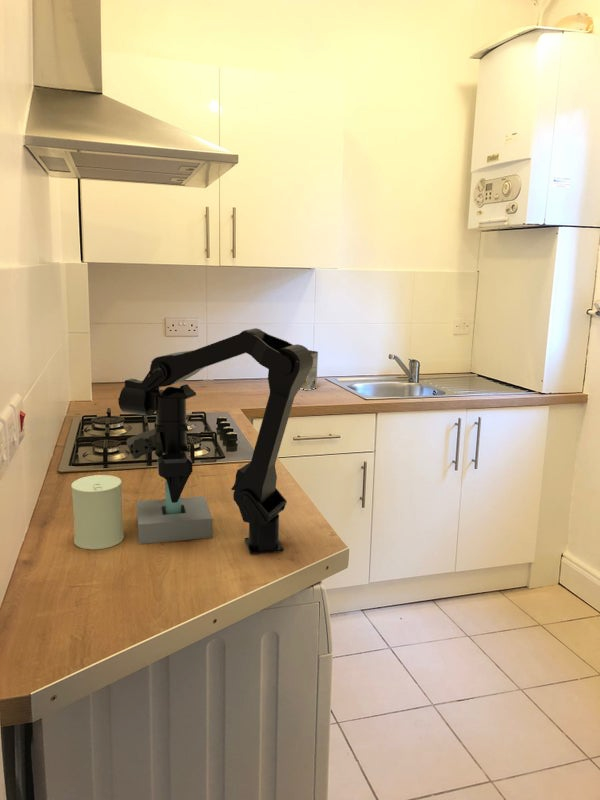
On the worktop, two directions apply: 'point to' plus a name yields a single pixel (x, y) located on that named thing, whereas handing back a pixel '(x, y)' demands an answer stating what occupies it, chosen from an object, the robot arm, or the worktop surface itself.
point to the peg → (171, 507)
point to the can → (97, 511)
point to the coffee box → (312, 373)
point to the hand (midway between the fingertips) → (172, 493)
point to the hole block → (173, 521)
